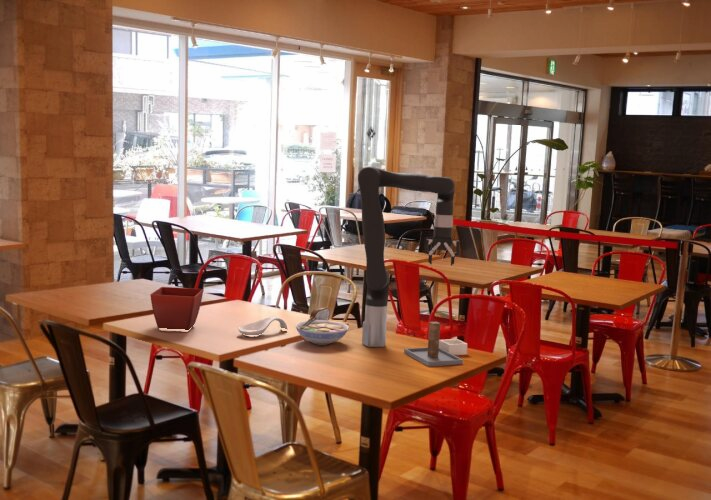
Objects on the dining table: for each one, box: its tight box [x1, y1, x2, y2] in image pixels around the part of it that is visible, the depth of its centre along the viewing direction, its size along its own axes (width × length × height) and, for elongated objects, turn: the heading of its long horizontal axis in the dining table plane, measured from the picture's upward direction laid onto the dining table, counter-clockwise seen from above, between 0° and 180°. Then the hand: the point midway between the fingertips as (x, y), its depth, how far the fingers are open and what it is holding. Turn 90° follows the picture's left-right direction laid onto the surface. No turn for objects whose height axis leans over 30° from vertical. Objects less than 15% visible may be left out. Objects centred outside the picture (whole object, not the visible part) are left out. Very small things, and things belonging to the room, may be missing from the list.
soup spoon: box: [309, 306, 331, 321], centre depth 372 cm, size 15×3×8 cm, turn 152°
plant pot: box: [149, 286, 204, 330], centre depth 351 cm, size 19×19×17 cm
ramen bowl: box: [295, 317, 350, 346], centre depth 339 cm, size 25×23×8 cm
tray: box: [403, 346, 464, 367], centre depth 322 cm, size 15×21×2 cm
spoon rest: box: [237, 316, 288, 335], centre depth 350 cm, size 24×12×7 cm, turn 133°
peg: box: [427, 321, 441, 358], centre depth 321 cm, size 3×3×14 cm
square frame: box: [439, 338, 468, 356], centre depth 333 cm, size 9×9×4 cm
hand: (441, 264), depth 332 cm, fingers open, 8 cm apart
